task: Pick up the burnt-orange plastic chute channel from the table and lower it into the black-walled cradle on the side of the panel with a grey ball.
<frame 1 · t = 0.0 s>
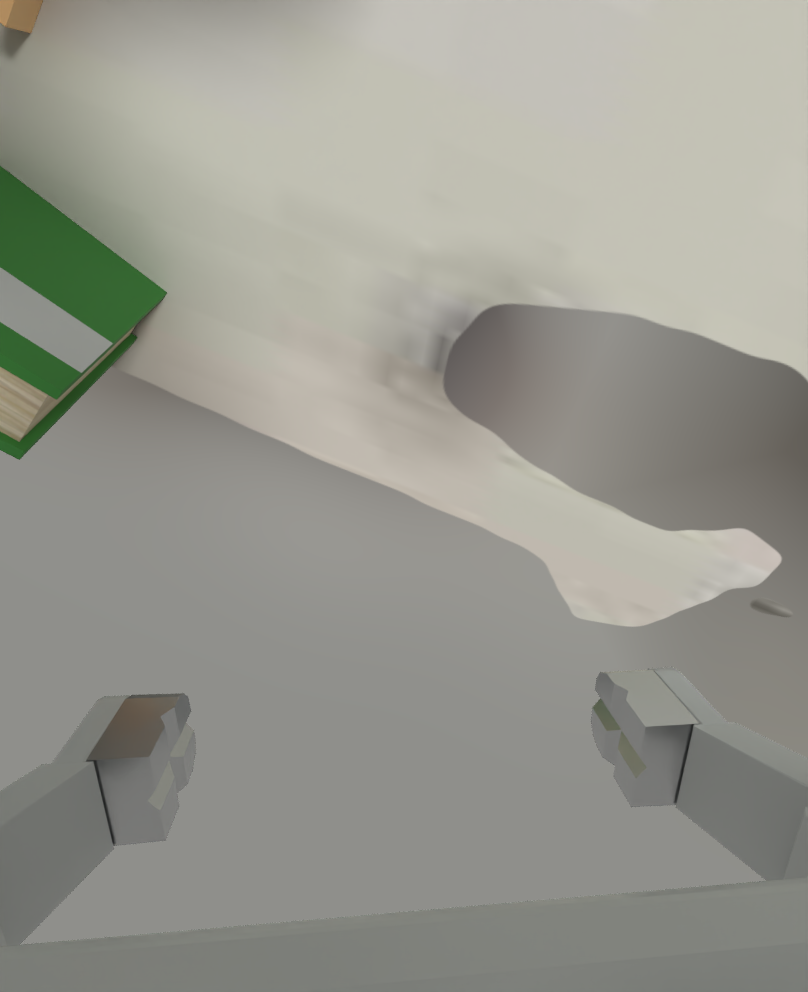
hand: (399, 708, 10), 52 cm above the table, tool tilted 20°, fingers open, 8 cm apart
hardback book: (67, 258, 51), on the table
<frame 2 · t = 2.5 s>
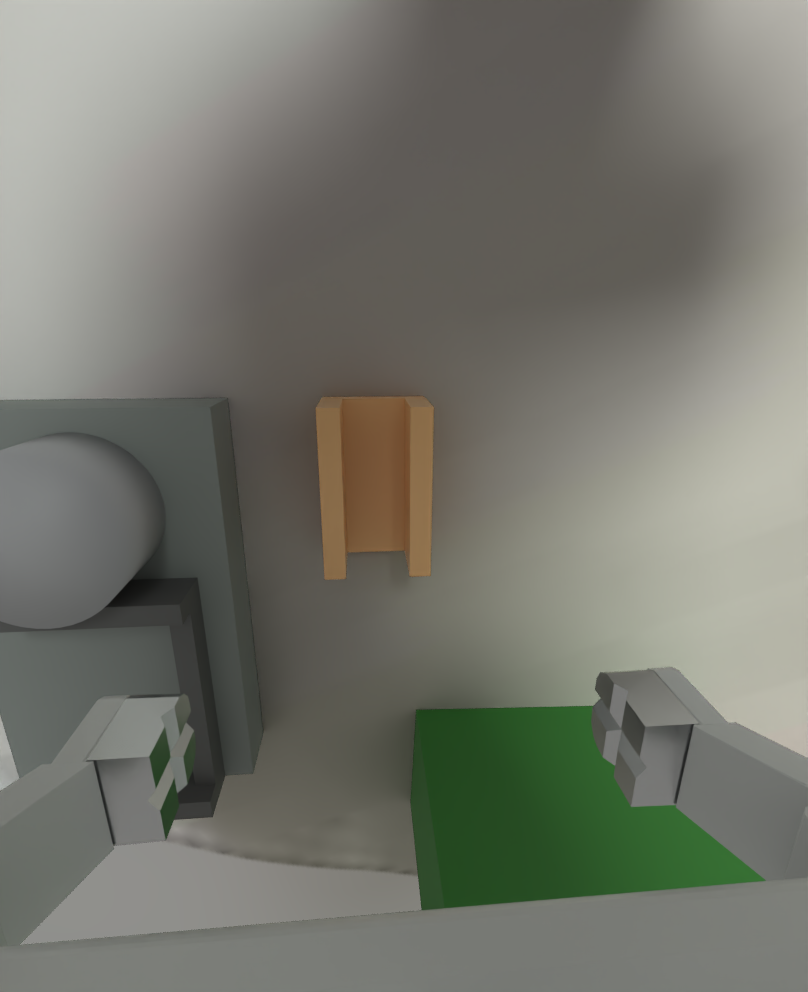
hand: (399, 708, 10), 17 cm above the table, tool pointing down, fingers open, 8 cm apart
chute: (374, 473, 26), on the table
hardback book: (546, 751, 33), on the table
panel with grey ball: (132, 588, 27), on the table
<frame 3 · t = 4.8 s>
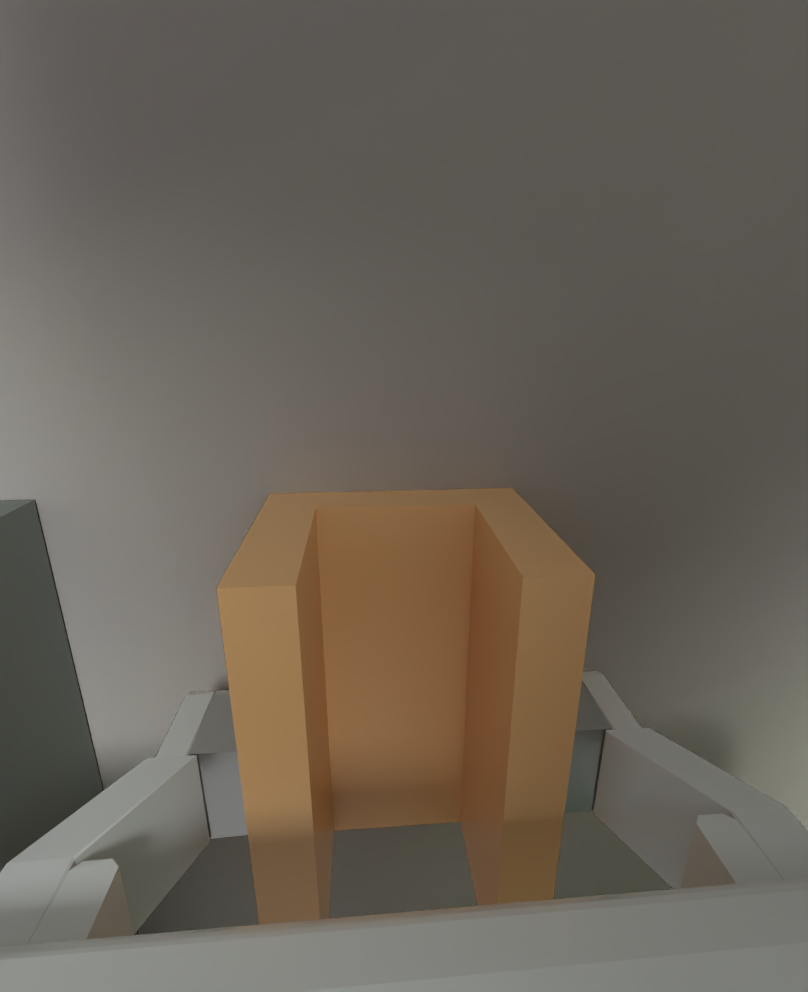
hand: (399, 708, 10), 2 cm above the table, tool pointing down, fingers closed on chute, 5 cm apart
chute: (394, 656, 12), on the table, touching gripper
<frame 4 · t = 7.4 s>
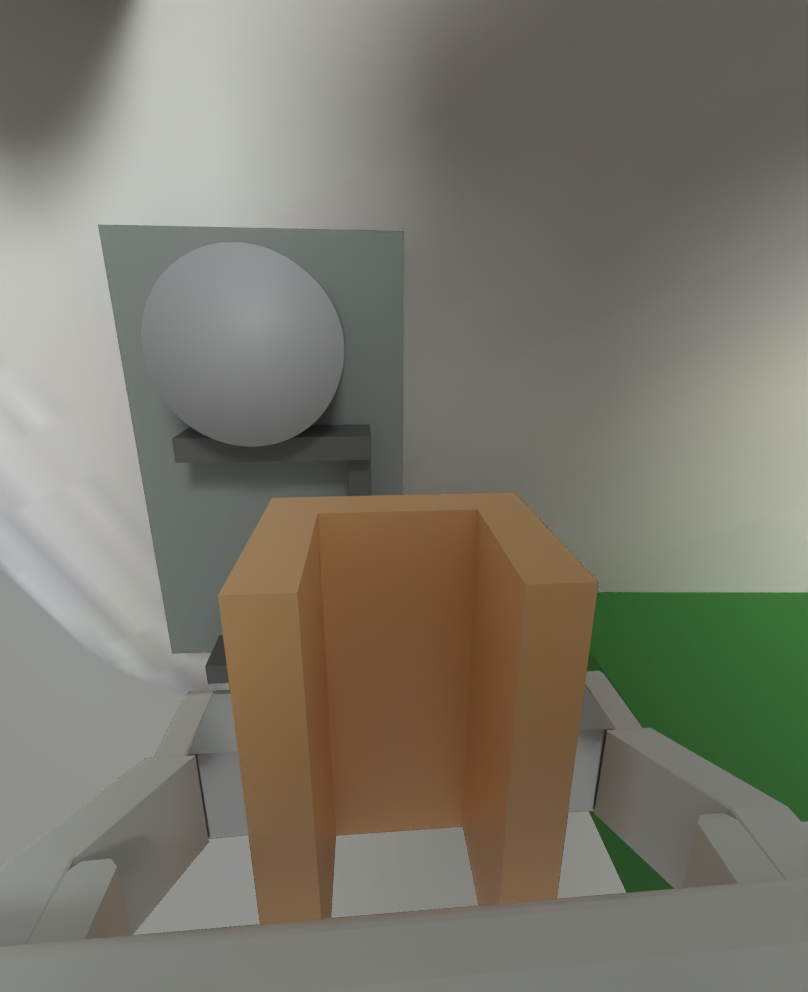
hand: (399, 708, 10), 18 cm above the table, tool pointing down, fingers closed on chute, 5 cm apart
chute: (396, 660, 12), point 16 cm above the table, touching gripper
hardback book: (672, 641, 33), on the table
panel with grey ball: (283, 451, 26), on the table
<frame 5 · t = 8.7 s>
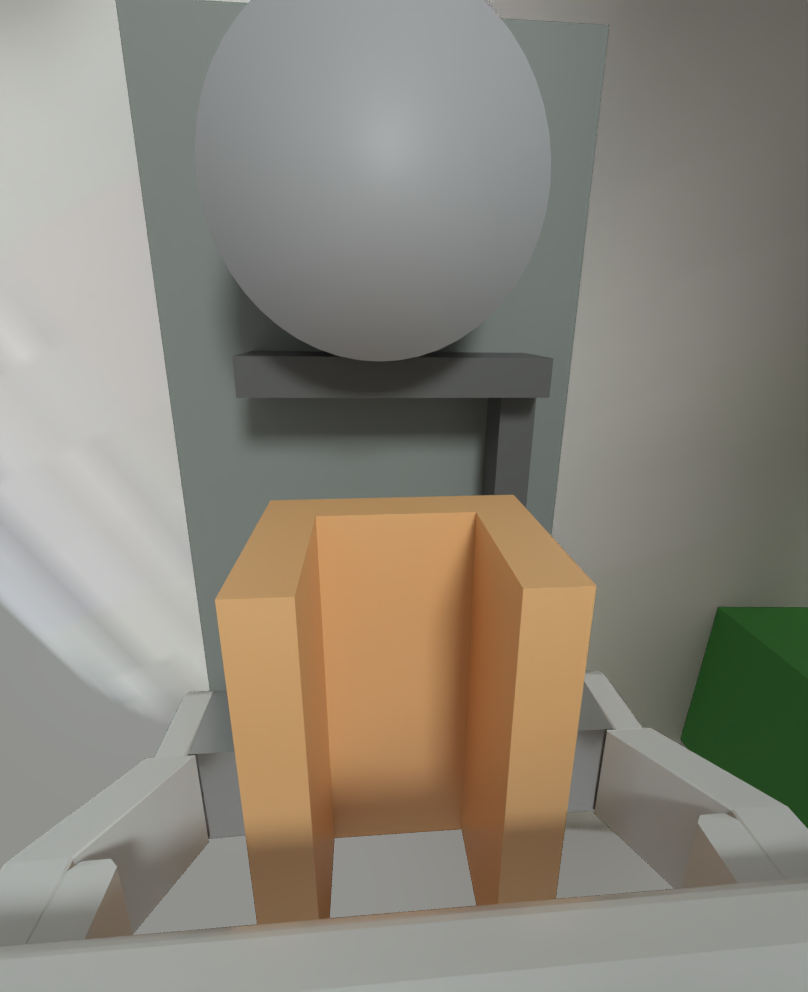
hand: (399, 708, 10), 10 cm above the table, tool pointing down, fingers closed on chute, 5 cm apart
chute: (395, 662, 12), point 9 cm above the table, touching gripper
panel with grey ball: (372, 404, 18), on the table
when the fingers open (6 cm above the table, at t = 9.9 s): chute stays where it is, resting on panel with grey ball.
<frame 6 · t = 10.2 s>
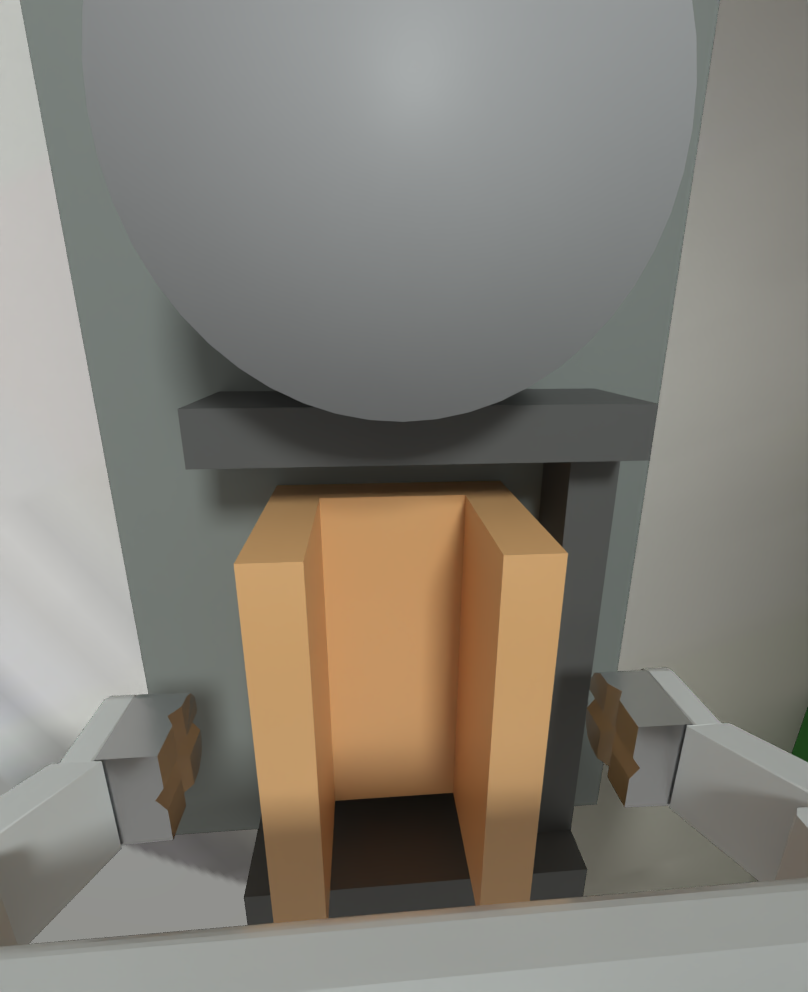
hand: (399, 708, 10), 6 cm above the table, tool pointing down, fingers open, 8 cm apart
chute: (391, 637, 13), point 3 cm above the table, touching panel with grey ball
panel with grey ball: (383, 451, 14), on the table
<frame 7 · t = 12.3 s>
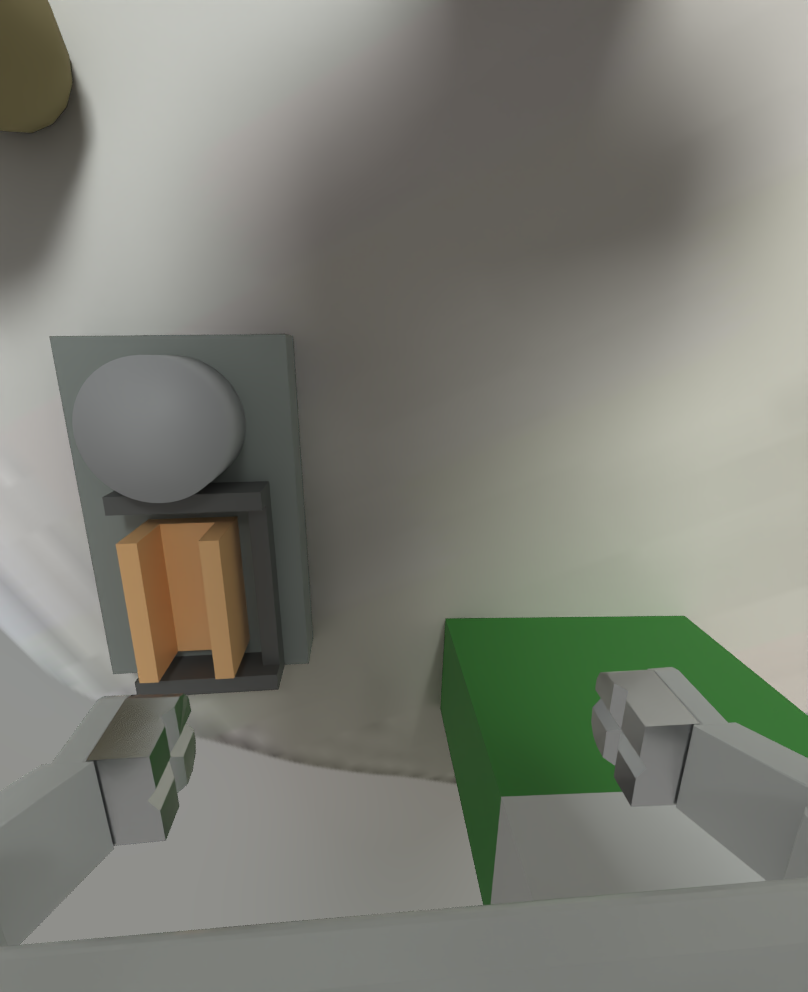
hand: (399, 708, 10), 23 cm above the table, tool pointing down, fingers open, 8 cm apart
chute: (201, 581, 30), point 3 cm above the table, touching panel with grey ball
hardback book: (560, 660, 38), on the table
squeeze bottle: (15, 70, 26), on the table
panel with grey ball: (208, 502, 32), on the table
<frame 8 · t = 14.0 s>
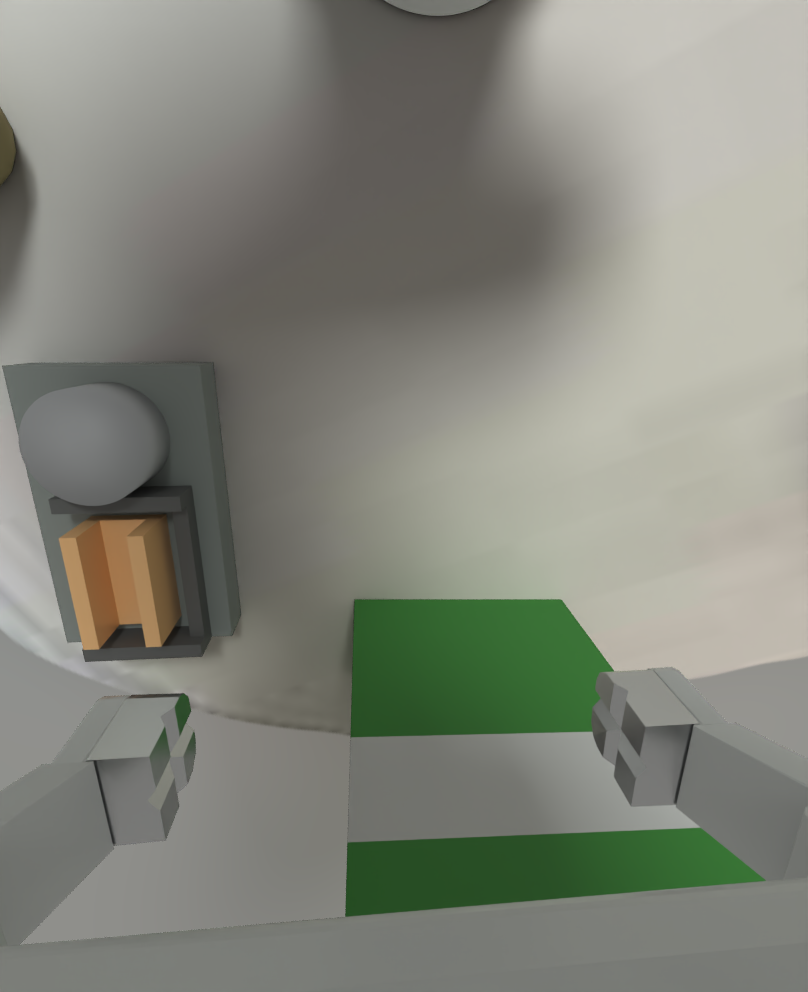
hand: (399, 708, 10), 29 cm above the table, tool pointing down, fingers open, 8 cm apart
chute: (138, 567, 36), point 3 cm above the table, touching panel with grey ball
hardback book: (456, 636, 44), on the table
panel with grey ball: (146, 500, 38), on the table
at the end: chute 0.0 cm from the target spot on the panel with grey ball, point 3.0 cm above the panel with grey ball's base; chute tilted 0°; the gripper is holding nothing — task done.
